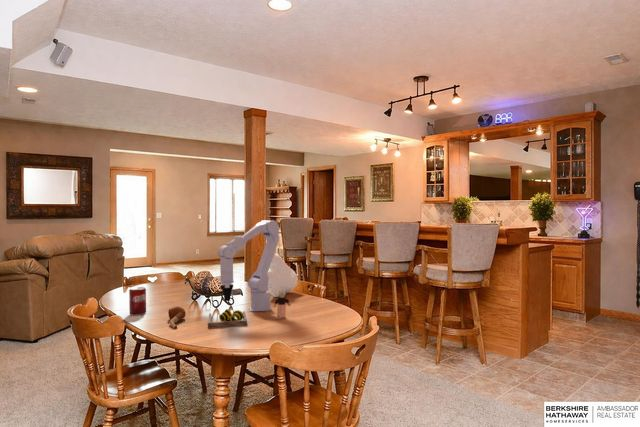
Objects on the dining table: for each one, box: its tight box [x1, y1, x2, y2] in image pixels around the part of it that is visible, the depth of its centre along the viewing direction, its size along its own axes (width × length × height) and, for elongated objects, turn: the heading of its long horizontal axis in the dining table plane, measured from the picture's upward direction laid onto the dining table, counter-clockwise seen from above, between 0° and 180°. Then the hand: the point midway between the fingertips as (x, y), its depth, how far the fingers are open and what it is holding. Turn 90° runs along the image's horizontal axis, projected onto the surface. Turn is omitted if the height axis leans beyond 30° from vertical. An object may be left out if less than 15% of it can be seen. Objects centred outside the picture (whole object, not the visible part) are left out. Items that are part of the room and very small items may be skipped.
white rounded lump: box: [267, 252, 298, 298], centre depth 241 cm, size 25×16×25 cm
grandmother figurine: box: [272, 290, 291, 320], centre depth 189 cm, size 8×4×13 cm, turn 118°
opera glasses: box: [218, 308, 244, 322], centre depth 185 cm, size 10×5×5 cm, turn 67°
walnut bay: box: [207, 311, 248, 329], centre depth 184 cm, size 16×16×2 cm
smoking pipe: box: [167, 306, 186, 330], centre depth 182 cm, size 7×18×6 cm, turn 22°
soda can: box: [128, 286, 147, 316], centre depth 199 cm, size 7×7×12 cm
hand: (227, 300), depth 195 cm, fingers closed
